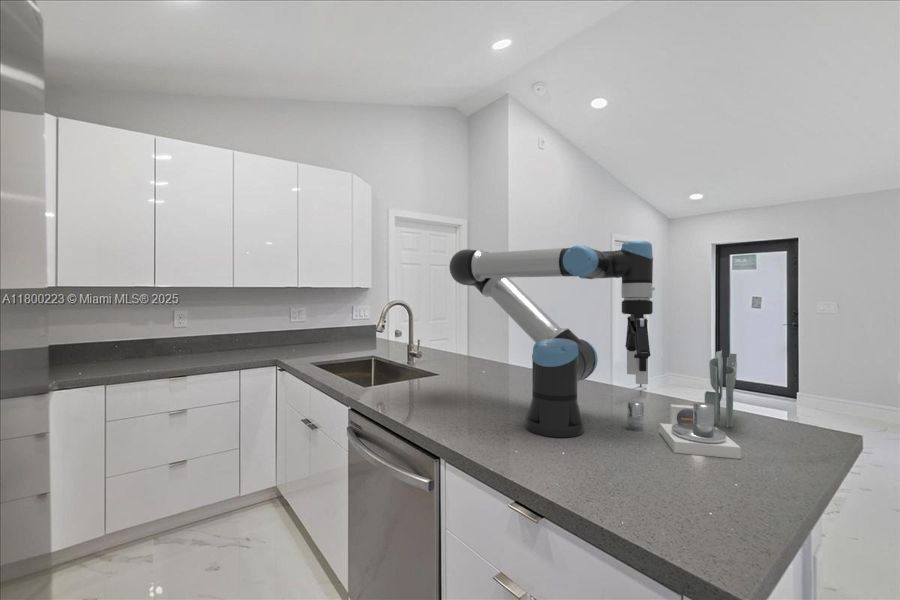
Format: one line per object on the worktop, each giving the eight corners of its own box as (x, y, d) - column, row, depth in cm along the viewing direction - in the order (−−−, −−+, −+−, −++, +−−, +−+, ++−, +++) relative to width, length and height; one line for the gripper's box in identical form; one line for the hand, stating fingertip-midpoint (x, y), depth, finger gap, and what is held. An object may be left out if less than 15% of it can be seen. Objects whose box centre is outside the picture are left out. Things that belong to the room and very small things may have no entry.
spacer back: (628, 430, 107) (628, 403, 107) (625, 425, 111) (626, 400, 111) (644, 431, 106) (645, 405, 106) (641, 427, 110) (642, 401, 110)
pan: (678, 440, 92) (679, 435, 92) (666, 425, 102) (666, 421, 102) (734, 445, 89) (734, 440, 89) (715, 429, 100) (715, 425, 100)
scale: (674, 452, 92) (674, 421, 91) (657, 429, 107) (657, 403, 107) (740, 459, 88) (741, 427, 88) (712, 434, 104) (713, 407, 104)
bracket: (733, 439, 101) (734, 359, 101) (699, 433, 105) (700, 356, 105) (736, 414, 123) (737, 348, 123) (709, 410, 127) (709, 346, 127)
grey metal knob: (690, 431, 95) (690, 401, 95) (709, 433, 94) (710, 402, 94) (696, 437, 91) (696, 406, 91) (716, 438, 90) (716, 407, 90)
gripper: (664, 299, 95) (663, 389, 95) (642, 299, 119) (642, 371, 119) (629, 299, 97) (629, 387, 97) (615, 299, 121) (615, 370, 121)
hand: (636, 378), depth 108 cm, fingers open, 13 cm apart
